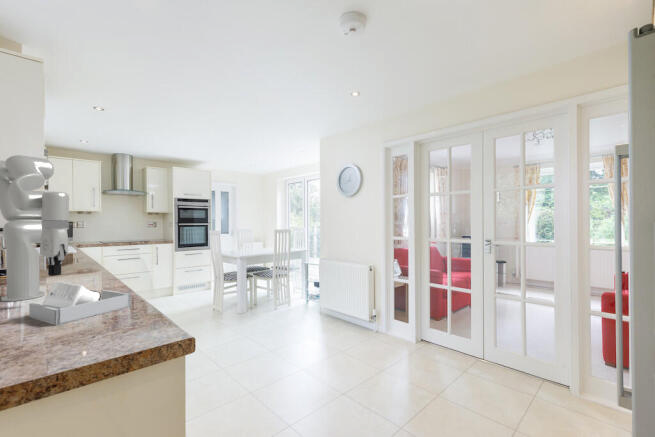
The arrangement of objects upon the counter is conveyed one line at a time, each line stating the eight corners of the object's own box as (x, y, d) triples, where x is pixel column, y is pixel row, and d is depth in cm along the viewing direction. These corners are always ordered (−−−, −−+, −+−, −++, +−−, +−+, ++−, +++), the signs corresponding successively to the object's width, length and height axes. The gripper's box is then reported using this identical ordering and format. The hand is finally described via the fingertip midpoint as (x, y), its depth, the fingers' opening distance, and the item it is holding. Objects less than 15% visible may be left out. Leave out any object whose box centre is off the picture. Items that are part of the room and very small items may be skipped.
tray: (29, 317, 99) (29, 303, 99) (104, 301, 119) (104, 289, 119) (56, 325, 91) (56, 310, 91) (131, 306, 111) (131, 294, 111)
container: (61, 284, 105) (104, 292, 109) (49, 307, 101) (94, 314, 106) (54, 280, 98) (101, 289, 103) (41, 304, 95) (90, 313, 100)
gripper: (32, 225, 114) (31, 274, 114) (52, 226, 107) (52, 279, 107) (57, 224, 120) (57, 271, 120) (78, 225, 114) (77, 275, 114)
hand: (54, 275), depth 114 cm, fingers closed
